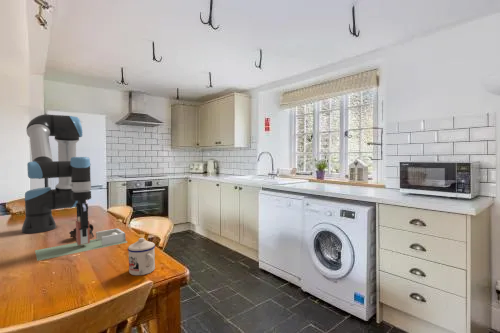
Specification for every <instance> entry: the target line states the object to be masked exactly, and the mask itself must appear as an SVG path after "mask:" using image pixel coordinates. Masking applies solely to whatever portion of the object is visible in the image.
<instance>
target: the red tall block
mask: <svg viewBox="0 0 500 333" xmlns="http://www.w3.org/2000/svg"><path fill="white" fill-rule="evenodd" d="M89 224H90V220H88V226H89ZM75 228H76V237H75V240H76V241H75V243H77V244H78V245H82V244H81V239H80V230H79V229H81V224H80V216H79V217H78V221H77V220H75ZM87 230H88V243H90V240H91V239H90V234H89V227H88V229H87ZM85 244H87V243H85Z"/></svg>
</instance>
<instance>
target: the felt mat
mask: <svg viewBox="0 0 500 333" xmlns="http://www.w3.org/2000/svg"><path fill="white" fill-rule="evenodd" d="M127 243H128V240H126V241H125V242H120V243H115V244H110V245H106V246H102V240H98V241H97V240H96V238H94V239H93V238H92V239H90V243H87V244H82V245H78V244H77V243H76V242H73V243H68V244H62V245H57V246H56V245H55V246H51V247H46V248H40V249H36V250H34V251H35V252H34V253H35V257H36V261H37V262H38V261H44V260H49V259H53V258H58V257H64V256H68V255H72V254H77V253H83V252H87V251H93V250H98V249H102V248H107V247H113V246H115V245H121V244H127Z"/></svg>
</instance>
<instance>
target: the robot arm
mask: <svg viewBox="0 0 500 333" xmlns="http://www.w3.org/2000/svg"><path fill="white" fill-rule="evenodd" d="M26 135H27V136H28V138H29V143H30V152H31V161H28V162H27V164H26V165H27V169H26V170H27V177H28V178H29V179H38V180H41V179H58V183H56V185H55V186H54V187H55V188H53V189H52V188H51V187H50V186H46V187H38V188H32V189H30V190H27V191H26V192H25V193H24V207H25V208H24V209H25V210H24V213H25V218H24V221H23V224H22V227H21V233H22V234H36V233H37V234H38V233H44V232H48V231H52V230H54V229H56V228H57V223H56V221H55V219H54V217H53V215H52V214H53V213H52V210H60V209H62V210H63V209H73V208H76V221H78V217H79V216H80V224H81V229H79V230H80V239H81V244H85V243H88V230H87V229H88V227H89V226H88V221H89V205H88V203H87V200H88V201H89V200H92V191H91V190H92V180H91V165H92V164H91V161H90V160H91V159H90V157H87V156H77V143H78V142H79V141H80V138H82V137H83V126H82V122H81V119H80V118H79V117H78V116H73V115H64V114H62V115H59V114H47V113H45V114H40V115H38V116H36V117H34V118H32V119H31V120H30V121H29V122H28V123H27V125H26ZM50 137H54V140H55V141H56V142H57V150H58V151H57V152H58V153H57V155H58V157H57V159H58V161H53V155H52V150H51V143H50Z"/></svg>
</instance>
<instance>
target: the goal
mask: <svg viewBox="0 0 500 333" xmlns="http://www.w3.org/2000/svg"><path fill="white" fill-rule="evenodd" d="M113 232H116V233H117V234H114V235H110V234H111V233H113ZM95 236H96V238H95V239H96V240H97V241H98V240H102V246H106V245H110V244H115V243H120V242H125V241H127V240H126V232H124V231H123V230H121V229H120V228H111V229H106V230H100V231H96V232H95Z"/></svg>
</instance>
